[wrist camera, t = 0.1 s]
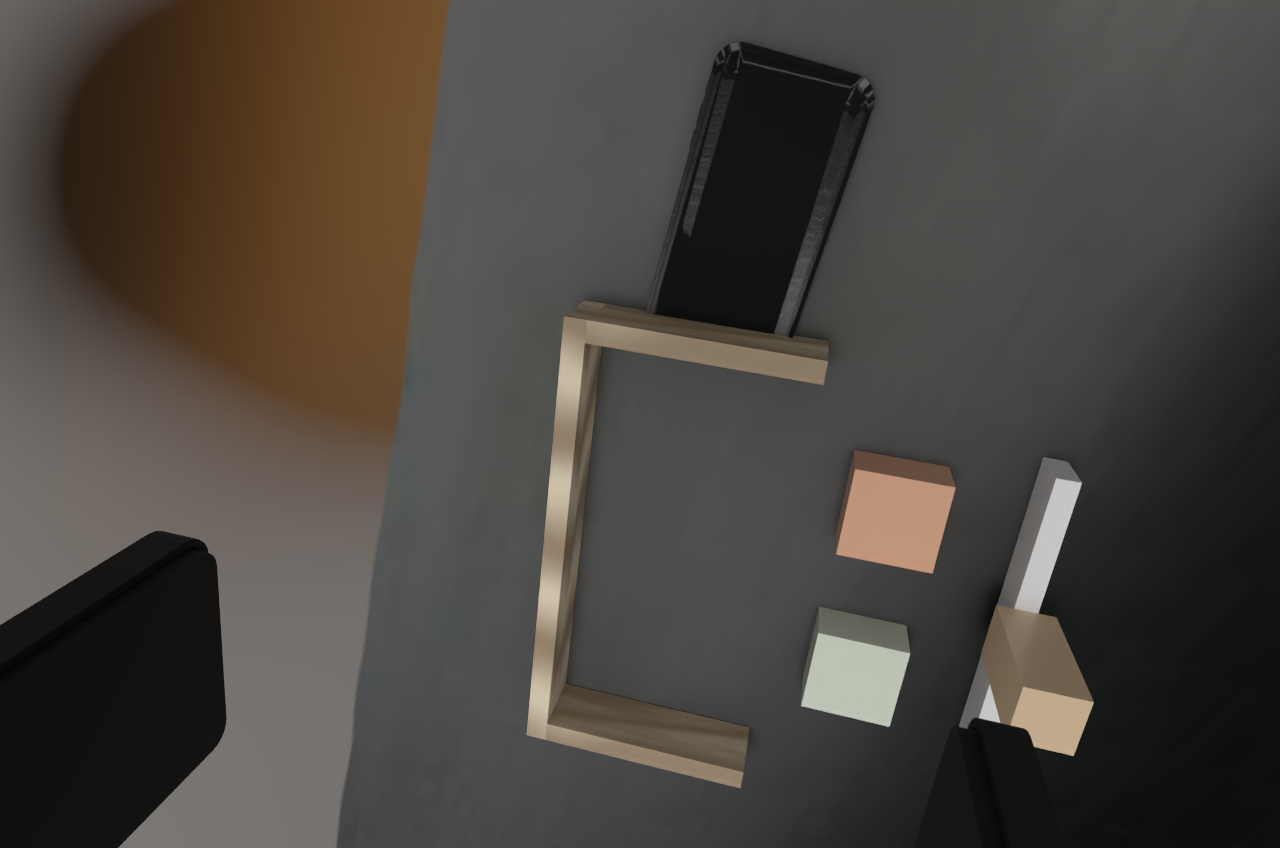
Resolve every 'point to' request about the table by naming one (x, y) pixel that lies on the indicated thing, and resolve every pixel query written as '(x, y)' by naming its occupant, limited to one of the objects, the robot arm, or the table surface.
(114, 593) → the robot arm
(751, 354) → the box
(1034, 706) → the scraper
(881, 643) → the pale green square block
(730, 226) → the phone
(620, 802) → the table surface
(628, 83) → the table surface
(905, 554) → the terracotta tile
